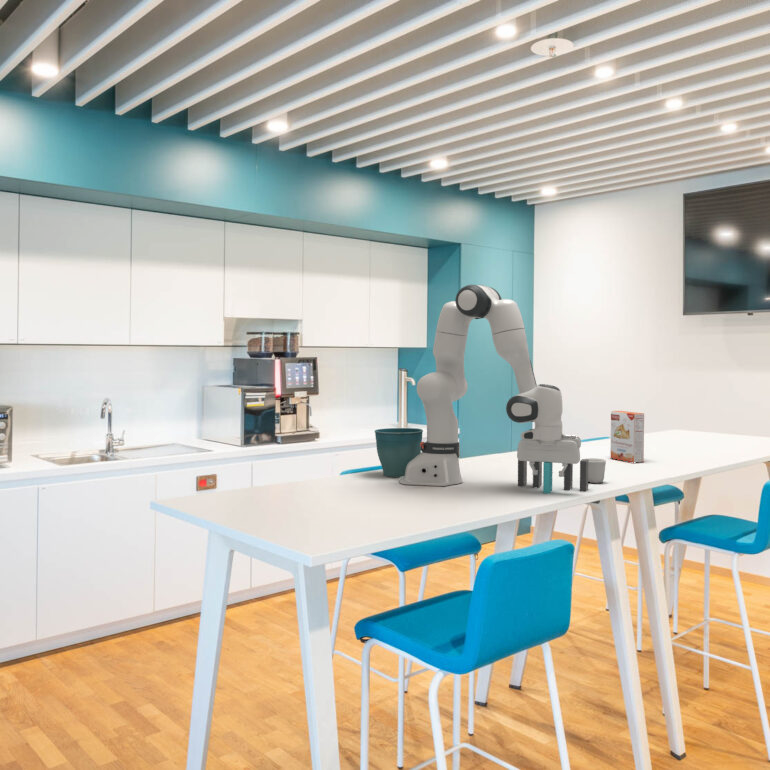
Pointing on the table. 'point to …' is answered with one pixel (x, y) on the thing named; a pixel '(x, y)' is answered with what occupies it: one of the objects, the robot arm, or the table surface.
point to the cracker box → (627, 436)
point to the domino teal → (547, 477)
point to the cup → (596, 470)
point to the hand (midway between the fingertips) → (548, 475)
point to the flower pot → (397, 449)
